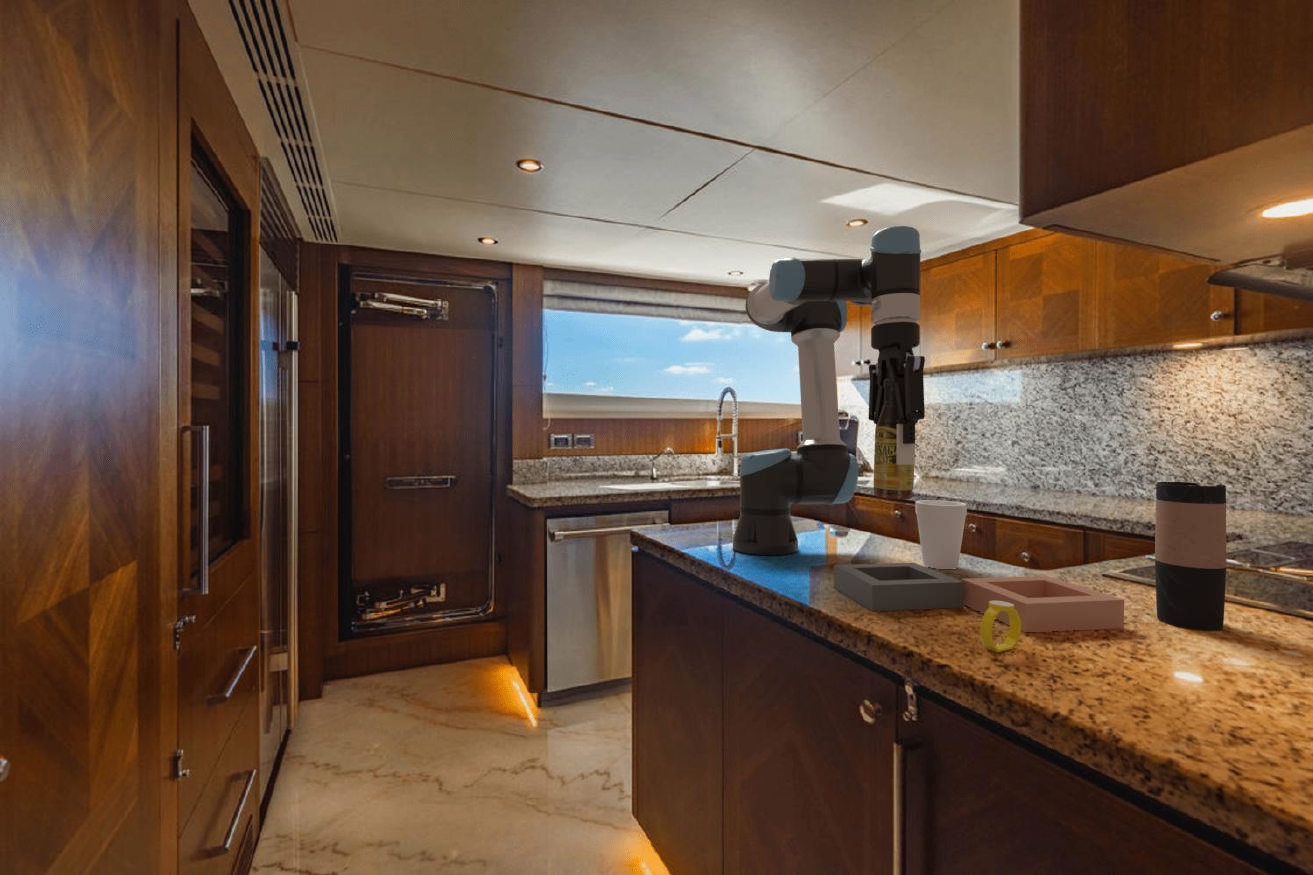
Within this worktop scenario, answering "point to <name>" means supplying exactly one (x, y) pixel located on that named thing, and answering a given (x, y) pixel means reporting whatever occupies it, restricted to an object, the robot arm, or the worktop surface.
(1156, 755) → the worktop surface
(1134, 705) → the worktop surface
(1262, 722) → the worktop surface
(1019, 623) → the watch
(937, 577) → the holder
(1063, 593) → the holder
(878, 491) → the sauce bottle
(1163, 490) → the travel mug
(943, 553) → the foam cup
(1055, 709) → the worktop surface
